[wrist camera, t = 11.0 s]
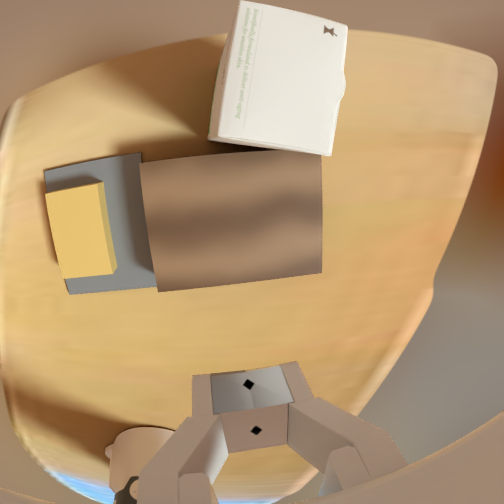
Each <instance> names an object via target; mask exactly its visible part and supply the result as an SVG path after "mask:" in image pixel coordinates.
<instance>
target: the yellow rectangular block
mask: <svg viewBox="0 0 504 504" xmlns="http://www.w3.org/2000/svg"><path fill="white" fill-rule="evenodd" d="M45 198H46V204H47V210H48V216H49V221H50V227H51V232H52V236H53V241H54V246H55V250H56V254H57V259H58V263H59V267H60V271H61V274H62V278H63V279H68V278H78V277H88V276H98V275H107V274H113V273H114V271H115V270H116V268H117V262H116V257H115V252H114V247H113V241H112V236H111V230H110V224H109V218H108V212H107V205H106V198H105V191H104V183H103V182H99V183H93V184H87V185H82V186H77V187H71V188H66V189H61V190H57V191H52V192H50V193H47V194H45Z"/></svg>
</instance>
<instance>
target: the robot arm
mask: <svg viewBox="0 0 504 504" xmlns="http://www.w3.org/2000/svg"><path fill="white" fill-rule="evenodd" d="M284 444H288V446H289V447H290V448H292V449H293V450H294V451H295V452H297V453H298V454H299V455H300V456H301V457H303V458H304V459H305V460H307V461H308V462H309V463H310V464H312V465H313V466H314V467H316V468H317V469H318V470H319V471H321V472H322V473H323V474H324V478H323V482H322V485H321V489H320V492H319V497H317V498H313V499H308V500H304V501H300V502H296V503H291V504H504V411H503V412H501V413H500V414H499V415H497V416H495V417H494V418H492V419H491V420H490V421H488V422H486V423H485V424H483V425H482V426H480V427H479V428H477V429H476V430H474V431H472V432H471V433H469V434H467V435H466V436H464V437H462V438H461V439H459V440H457V441H455V442H454V443H452V444H450V445H449V446H447V447H445V448H443V449H441V450H439V451H437V452H435V453H433V454H431V455H429V456H427V457H425V458H423V459H421V460H419V461H417V462H414V463H413V464H410V465H408V464H407V463H406V461H405V459H404V458H403V456H402V455H401V453H400V451H399V450H398V448H397V446H396V445H395V443H394V442H393V440H392V438H391V437H390V435H389V434H388V432H387V431H385V430H383V429H380V428H378V427H376V426H374V425H372V424H370V423H368V422H366V421H364V420H362V419H360V418H358V417H356V416H354V415H352V414H350V413H348V412H346V411H345V410H343V409H341V408H339V407H337V406H335V405H333V404H331V403H329V402H328V401H326V400H324V399H322V398H320V397H318V398H314V396H313V394H312V392H311V389H310V387H309V385H308V383H307V381H306V379H305V377H304V374H303V372H302V370H301V368H300V366H299V364H298V362H296V361H294V362H289V363H284V364H279V365H275V366H269V367H263V368H256V369H250V370H242V371H233V372H223V373H212V374H211V375H210V374H203V375H193V377H192V417H187V418H186V419H185V420H184V421H183V423H182V424H181V425H180V426H179V427H178V428H177V430H176V431H175V432H174V431H171V430H167V429H162V428H154V427H138V428H132V429H128V430H126V431H124V432H122V433H120V434H119V435H118V436H117V437H116V439H115V442H114V443H113V444H112V445H109V446H108V447H106V448H105V455H106V456H107V457H108V458H109V459H110V471H109V487H110V489H112V491H113V492H114V493H115V498H114V502H113V504H219V503H218V500H217V498H216V495H215V493H214V490H213V488H212V484H213V482H214V480H215V479H216V477H217V475H218V473H219V471H220V470H221V468H222V466H223V464H224V462H225V460H226V459H227V457H228V453H234V452H240V451H247V450H252V449H258V448H266V447H272V446H279V445H284ZM0 504H58V503H53V502H49V501H45V500H41V499H38V498H34V497H30V496H27V495H24V494H20V493H17V492H14V491H11V490H8V489H5V488H2V487H0Z"/></svg>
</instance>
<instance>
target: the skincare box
mask: <svg viewBox="0 0 504 504" xmlns="http://www.w3.org/2000/svg"><path fill="white" fill-rule="evenodd" d="M347 30H348V27H347V26H346V25H344V24H341V23H338V22H335V21H332V20H329V19H325V18H322V17H318V16H314V15H310V14H306V13H302V12H298V11H294V10H289V9H285V8H280V7H275V6H270V5H265V4H260V3H255V2H248V1H242V0H240V1H239V4H238V7H237V11H236V14H235V16H234V19H233V22H232V25H231V28H230V31H229V34H228V37H227V40H226V43H225V46H224V49H223V53H222V55H221V59H220V62H219V65H218V70H217V76H216V82H215V88H214V94H213V101H212V108H211V115H210V123H209V130H208V138H207V139H208V140H210V141H218V142H224V143H232V144H239V145H247V146H255V147H264V148H273V149H282V150H290V151H298V152H305V153H312V154H318V155H324V156H331V154H332V146H333V140H334V135H335V129H336V123H337V117H338V111H339V104H340V100H341V98H342V96H343V94H344V91H345V84H346V83H345V76H344V73H343V71H344V62H345V53H346V43H347Z"/></svg>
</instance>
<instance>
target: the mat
mask: <svg viewBox="0 0 504 504" xmlns="http://www.w3.org/2000/svg"><path fill="white" fill-rule="evenodd" d="M139 163H142V156H141V152H140V153H134V154H127V155H121V156H116V157H110V158H104V159H99V160H94V161H89V162H84V163H79V164H74V165H70V166H65V167H61V168H57V169H52V170H48V171H44V174H45V182H46V189H47V193H50V192H52V191H57V190H61V189H66V188H71V187H77V186H82V185H87V184H93V183H99V182H103V183H104V191H105V198H106V205H107V212H108V218H109V224H110V230H111V236H112V241H113V247H114V252H115V257H116V262H117V268H116V270H115V271H114V273H113V274H107V275H98V276H88V277H78V278H68V279H65V280H66V284H67V288H68V291H69V294H70V295H71V294H83V293H95V292H106V291H117V290H127V289H138V288H148V287H157V283H156V278H155V273H154V267H153V262H152V256H151V250H150V244H149V237H148V231H147V224H146V217H145V210H144V202H143V195H142V186H141V177H140V168H139Z"/></svg>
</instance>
